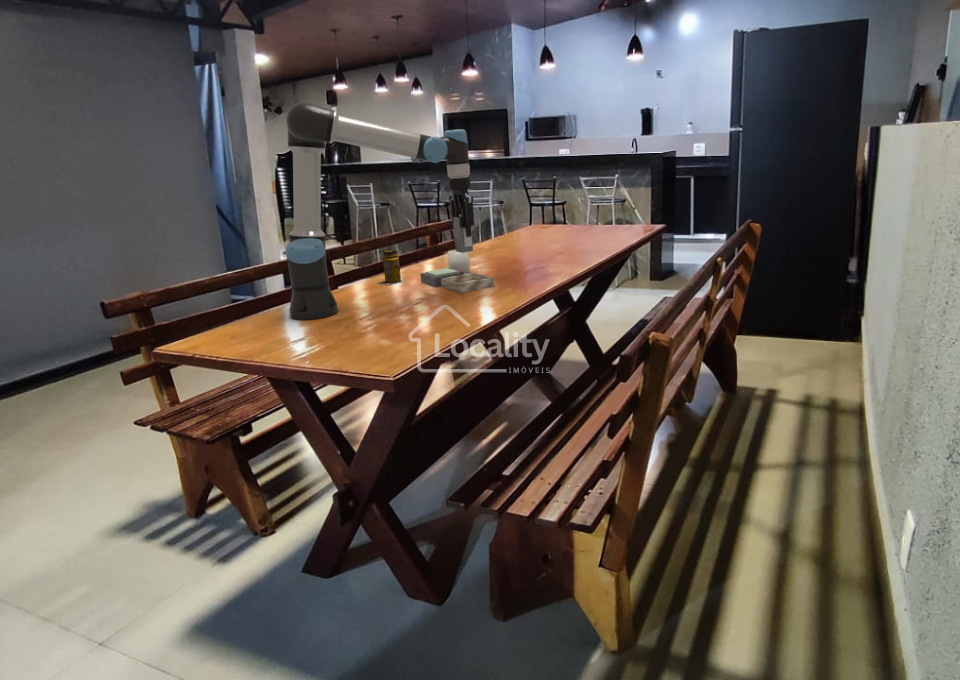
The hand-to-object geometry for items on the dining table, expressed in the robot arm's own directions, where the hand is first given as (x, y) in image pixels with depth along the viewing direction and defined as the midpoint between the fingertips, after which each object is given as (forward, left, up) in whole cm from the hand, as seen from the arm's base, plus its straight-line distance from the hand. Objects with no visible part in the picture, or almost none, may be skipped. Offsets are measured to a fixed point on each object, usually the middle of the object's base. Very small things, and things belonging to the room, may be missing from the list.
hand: (464, 245), depth 234 cm
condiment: (-17, +30, -15) cm, 38 cm away
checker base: (-3, +14, -15) cm, 21 cm away
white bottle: (+9, +23, -15) cm, 29 cm away
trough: (0, 0, -15) cm, 15 cm away
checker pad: (-3, +14, -12) cm, 19 cm away
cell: (0, 0, -2) cm, 2 cm away
